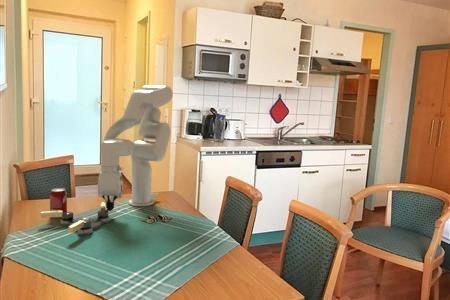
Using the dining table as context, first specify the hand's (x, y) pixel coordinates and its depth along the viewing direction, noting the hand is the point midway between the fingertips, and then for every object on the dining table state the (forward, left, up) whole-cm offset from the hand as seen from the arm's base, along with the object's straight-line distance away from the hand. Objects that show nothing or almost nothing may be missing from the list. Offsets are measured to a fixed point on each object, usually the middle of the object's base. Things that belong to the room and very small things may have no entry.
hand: (110, 209), depth 168 cm
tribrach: (+12, +4, -3) cm, 13 cm away
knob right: (+21, -5, -1) cm, 22 cm away
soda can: (+16, -15, -3) cm, 22 cm away
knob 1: (+21, +13, -1) cm, 25 cm away
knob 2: (+3, 0, -1) cm, 4 cm away
